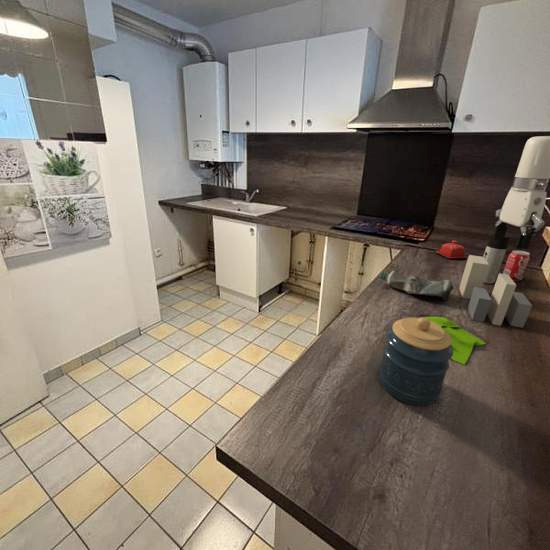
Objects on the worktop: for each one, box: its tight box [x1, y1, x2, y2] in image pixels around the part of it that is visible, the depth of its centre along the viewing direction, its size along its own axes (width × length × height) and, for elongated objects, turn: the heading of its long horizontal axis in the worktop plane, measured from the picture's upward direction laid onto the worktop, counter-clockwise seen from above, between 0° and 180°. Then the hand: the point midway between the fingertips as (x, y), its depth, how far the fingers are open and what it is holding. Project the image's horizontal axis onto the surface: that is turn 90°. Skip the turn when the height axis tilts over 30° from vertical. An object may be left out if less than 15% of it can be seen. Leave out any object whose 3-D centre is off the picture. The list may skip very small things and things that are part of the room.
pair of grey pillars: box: [467, 287, 533, 329], centre depth 93 cm, size 13×9×8 cm
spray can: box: [482, 232, 512, 285], centre depth 119 cm, size 7×7×20 cm
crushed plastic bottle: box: [380, 270, 454, 301], centre depth 110 cm, size 13×7×25 cm
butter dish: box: [435, 239, 469, 260], centre depth 150 cm, size 12×12×8 cm
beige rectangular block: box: [458, 254, 489, 300], centre depth 108 cm, size 5×9×14 cm, turn 156°
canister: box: [378, 316, 453, 406], centre depth 63 cm, size 13×13×18 cm
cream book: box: [486, 272, 517, 327], centre depth 92 cm, size 2×9×14 cm, turn 156°
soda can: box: [502, 249, 531, 282], centre depth 123 cm, size 7×7×12 cm
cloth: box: [424, 316, 487, 366], centre depth 83 cm, size 20×22×2 cm
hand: (508, 243), depth 88 cm, fingers open, 9 cm apart
